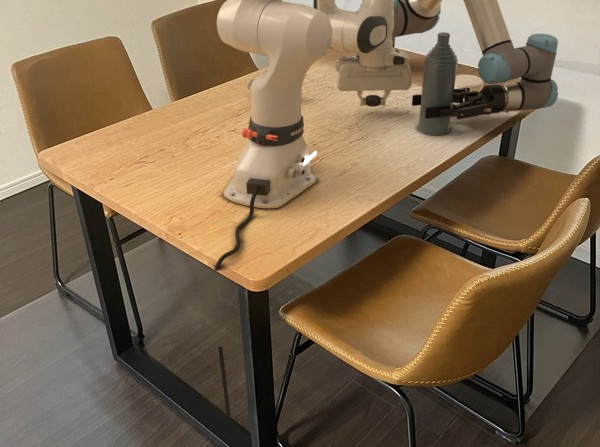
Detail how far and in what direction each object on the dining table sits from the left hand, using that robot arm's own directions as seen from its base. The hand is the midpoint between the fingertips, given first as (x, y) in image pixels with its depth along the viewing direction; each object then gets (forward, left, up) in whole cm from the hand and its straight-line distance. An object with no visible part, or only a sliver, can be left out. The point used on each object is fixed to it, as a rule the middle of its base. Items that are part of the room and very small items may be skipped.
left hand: (372, 104), depth 172 cm
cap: (0, 0, +2) cm, 2 cm away
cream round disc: (+28, -20, -3) cm, 35 cm away
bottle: (-3, -18, -3) cm, 19 cm away
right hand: (-6, -15, +4) cm, 16 cm away
